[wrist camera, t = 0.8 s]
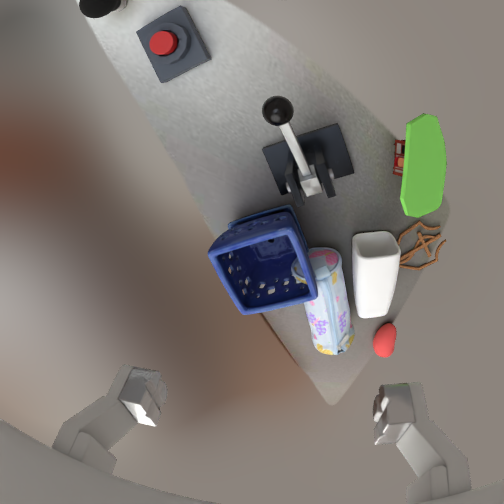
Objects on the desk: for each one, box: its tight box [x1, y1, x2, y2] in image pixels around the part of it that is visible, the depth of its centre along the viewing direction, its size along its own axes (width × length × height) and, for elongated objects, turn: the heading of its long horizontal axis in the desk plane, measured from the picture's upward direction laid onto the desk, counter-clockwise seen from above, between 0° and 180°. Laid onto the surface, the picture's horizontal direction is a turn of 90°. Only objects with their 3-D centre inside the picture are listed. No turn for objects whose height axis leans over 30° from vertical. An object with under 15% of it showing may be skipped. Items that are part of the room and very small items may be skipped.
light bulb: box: [79, 0, 126, 18], centre depth 31 cm, size 6×6×10 cm
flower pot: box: [208, 204, 318, 315], centre depth 50 cm, size 13×13×12 cm
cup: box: [352, 231, 401, 318], centre depth 52 cm, size 7×7×15 cm
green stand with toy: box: [393, 113, 447, 218], centre depth 41 cm, size 15×15×6 cm
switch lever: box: [262, 96, 323, 197], centre depth 34 cm, size 14×3×3 cm, turn 23°
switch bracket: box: [262, 123, 354, 207], centre depth 41 cm, size 8×12×12 cm, turn 113°
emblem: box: [397, 220, 446, 270], centre depth 51 cm, size 12×10×1 cm
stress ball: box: [373, 323, 396, 357], centre depth 62 cm, size 5×9×6 cm
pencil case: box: [291, 247, 355, 355], centre depth 55 cm, size 21×9×10 cm, turn 18°
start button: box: [149, 31, 178, 55], centre depth 35 cm, size 4×4×2 cm
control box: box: [136, 6, 211, 83], centre depth 37 cm, size 10×8×4 cm
